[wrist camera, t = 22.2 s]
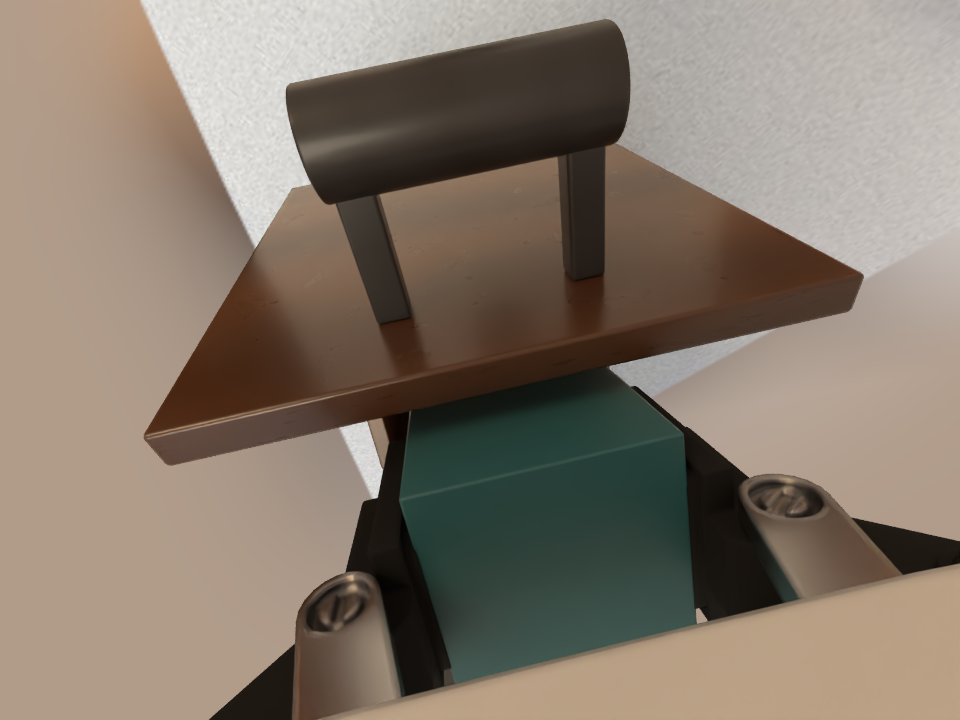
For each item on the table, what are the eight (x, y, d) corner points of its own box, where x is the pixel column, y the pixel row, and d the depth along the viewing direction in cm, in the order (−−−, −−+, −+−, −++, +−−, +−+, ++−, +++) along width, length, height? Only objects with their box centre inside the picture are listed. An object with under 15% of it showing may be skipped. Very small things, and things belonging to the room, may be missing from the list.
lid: (852, 312, 8) (994, -49, 5) (166, 468, 8) (-96, 175, 5) (585, 146, 20) (583, 1, 17) (298, 207, 19) (243, 70, 16)
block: (590, 350, 12) (685, 432, 7) (610, 502, 13) (699, 647, 9) (411, 390, 11) (397, 499, 7) (451, 539, 13) (461, 705, 9)
